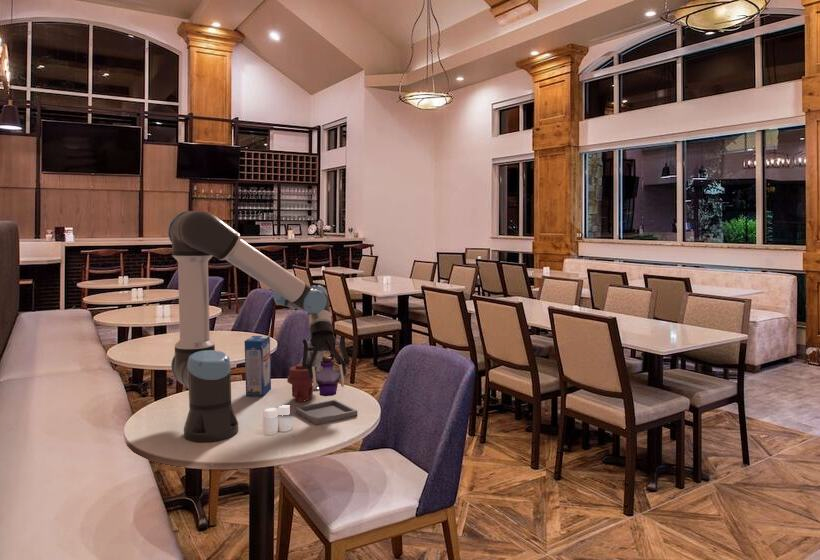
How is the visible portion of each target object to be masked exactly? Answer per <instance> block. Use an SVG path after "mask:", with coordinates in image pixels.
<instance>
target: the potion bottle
mask: <svg viewBox="0 0 820 560" xmlns="http://www.w3.org/2000/svg"><path fill="white" fill-rule="evenodd" d="M320 364H321V367H322V369H321V370H320V369H319V370H318V371H317V372H315V375H316V383H317V386H316V387H319V391H318V392H319V396H321V397H332V396H335V395H337V390H338V385H339V383H340V374H341V373H340V371H339V369H338V370H337V369H332V368H333V366H335V360H333V356H325V357H323V358H322V361H320Z"/></svg>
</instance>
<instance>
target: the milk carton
mask: <svg viewBox="0 0 820 560" xmlns="http://www.w3.org/2000/svg"><path fill="white" fill-rule="evenodd" d="M244 366H245V367H244V372H245V375H244V376H245V396H246V398H247V396H250V397H249V398H252V397H253V398H264V397H265V396H266V395H267V393H269V392H270V391H271V390H272V378H271V377H272V376H271V375H272V372H271V368H272V367H271V366H272V365H271V336H270V335H252V336H250V337H249V338H247V339H245V340H244ZM269 390H270V391H269Z"/></svg>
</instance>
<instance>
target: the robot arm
mask: <svg viewBox="0 0 820 560" xmlns="http://www.w3.org/2000/svg"><path fill="white" fill-rule="evenodd" d="M167 235H168V238H169V241H170V242H171V247H172V248H171V251H172V253H171V254H172V257H173V258H174V259H175V260H176V262H177V269H178V270H177V273H178V278H177V279H178V281H177V282H178V311H179V312H178V314H179V316H178V317H179V323H178V324H179V339H178V341H177V342H176V343H175V344H174V356H173V358H172V360H171V364H170V367H171V372H172V375H173V376H174V378H175V380H176V381H177V382H178V383H180V384H181V385H182V386H184V387H186V388H187V389H188V400H189V401H188V402H189V405H188V406H189V410H188V413H187V417H186V419H185V420H186V421H185V422H184V427H183V437H184V438H185V439H186V440H188V441H189V442H197V443H207V442H208V443H210V442H217V441H222V440H225V439H229V438H230V437H233V436H235V435H236V434H237V433H238V432H239V421H238V419H237V415H236V413H235V411H234V408H233V406H232V374H231V370H232V365H231V359H230V357H229V355H228V354H227V353H225V352H223V351H220V350H218V351H217V350H216V349H215V348H216V346H215V345H216V344H215V342H214V340H212V339H211V337H210V297H209V296H210V295H209V261H210V260H211V259H212V258H213V257H214V258H216V259H218V260H219V261H227V262H228V263H230V264H231V265H233V266H234V267H236V268H238V269H239V270H241V271H242V272H244V273H245V274H247V275H248V276H250V277H251V278H253V279H254V280H256V281H258V282H259V283H261V284H262V285H264V286H266V287H267V288H268V289H270V290H272V291H273V292H274V293H273V300H274V303H276V304H277V305H280V306H282V307H287V308H291V309H294V310H298V311H302V312H305V313H307V315H308V322H309V323H308V324H309V325H308V326H309V333H310V339H307V340H306V339H302V346H301V347H302V349H303V352H302V354H303V355H302V360H301V361H302V362H301V364H302V369H307V370H308V375H309V379H312V380H313V383H312V386H313V388H314V389H316V386H317V385H318V384H317V383H316V375H315V367H313V364H314V362H315V359H316V356H317V354H318V351H325V352H329V354H331V356H332V358H333V359H334V361H336V363H337V364H338V370H339V371H340V373H341V374H340V379H339V383H340V387H341V388H342V387H343V388H344V386H345V377H346V374H347V369H346V367H349V366H350V364H351V359H350V357H349V353H348V351H347V348H346V346H345V343H344V341H345V340H344V339H345V338H344V337H343V336H342V337H340V338H338V337H337V338H336V336H335V335H334V329H333V328H334V327H333V322H332V321H333V320H332V315H331V308H330V301H329V296H328V295H329V294H328V292H327V289H326V288H325V287H324V286H322V285H311V286H310V285H308V284H307V283H305V282H304V281H302V280H301V279H300V278H298V277H297V276H295V275H294V274H293V273H292V272H290V271H288V270H287V269H285V268H284V267H283V266H281V265H279V264H278V263H277V262H275V261H274V260H272V259H271V258H269V257H268V256H266V255H265V254H263V253H262V252H260V251H259V250H258V249H256V248H255V247H254V246H252V245H250V244H249V243H247V241H245V240H243V239H242V238H241V234H240V233H239V232H238V231H236V230H235V229H234V228H233V227H231V226H229V225H228V224H227V223H226V222H224V221H223V220H221V219H220V218H219V217H218V216H216V215H214V214H212V212H208V211H205V210H195V211H194V210H193V211H192V210H187V211H182V212H180V213H178V214H177V215H175V216H174V217H173V218H172V219H171V220H170V222H169V224H168V227H167ZM335 343H336V344H337V346H338V347H339V350H340V353H341V354H340V353H339V352H338V350H337V349H336V346H335ZM310 345H311V347H314V351H313V354H312V356H311V359H310V362H309V364H306V360H307V349H308V347H310ZM341 355H342V356H341Z"/></svg>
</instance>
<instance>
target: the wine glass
mask: <svg viewBox="0 0 820 560" xmlns="http://www.w3.org/2000/svg"><path fill="white" fill-rule="evenodd" d="M313 351H314V347H313V346H309V347H308V349H307V360H306V364H309V362H310V359H311V356H312V354H313ZM323 357H326V351H318V354H317V356H316V359H315V362H314V364H313V367H315V372H317V371H320V368H321V367H322V366H321V364H320V361H322V358H323ZM312 387H313V385H312ZM313 390H319V387H316V389H314V388H313Z"/></svg>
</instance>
